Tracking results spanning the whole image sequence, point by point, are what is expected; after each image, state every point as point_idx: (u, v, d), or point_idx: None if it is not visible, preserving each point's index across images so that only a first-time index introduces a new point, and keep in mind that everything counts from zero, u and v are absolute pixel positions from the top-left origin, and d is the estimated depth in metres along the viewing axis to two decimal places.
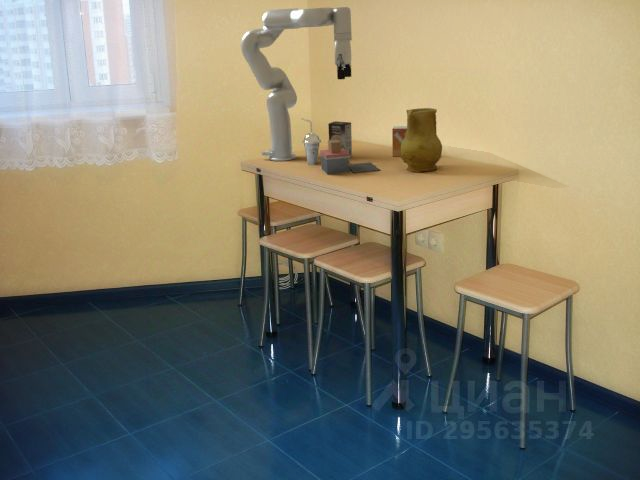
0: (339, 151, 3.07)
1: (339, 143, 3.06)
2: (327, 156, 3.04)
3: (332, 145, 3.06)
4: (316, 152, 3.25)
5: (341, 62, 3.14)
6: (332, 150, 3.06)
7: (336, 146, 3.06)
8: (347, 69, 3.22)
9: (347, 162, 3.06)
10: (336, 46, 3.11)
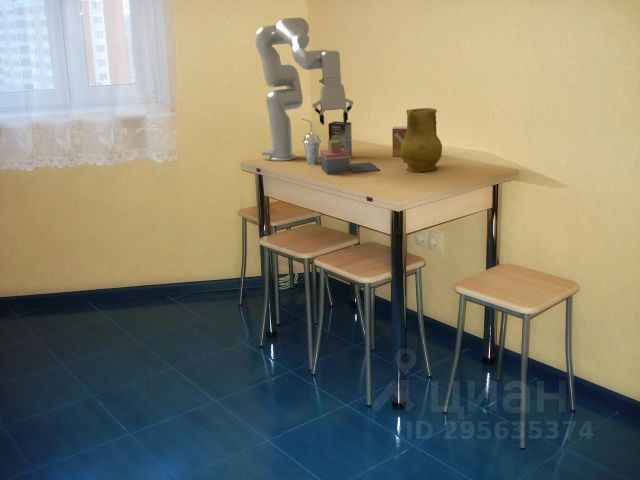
0: (339, 151, 3.07)
1: (339, 143, 3.06)
2: (327, 156, 3.04)
3: (332, 145, 3.06)
4: (316, 152, 3.25)
5: None
6: (332, 150, 3.06)
7: (336, 146, 3.06)
8: None
9: (347, 162, 3.06)
10: None
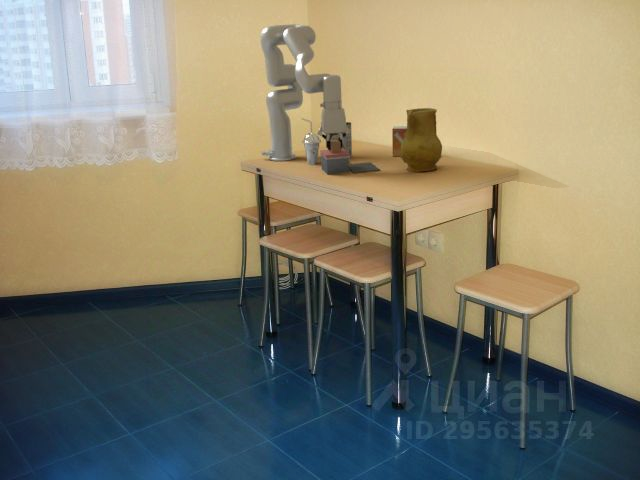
0: (339, 151, 3.07)
1: (339, 143, 3.06)
2: (327, 156, 3.04)
3: (332, 145, 3.06)
4: (316, 152, 3.25)
5: None
6: (332, 150, 3.06)
7: (336, 146, 3.06)
8: None
9: (347, 162, 3.06)
10: (344, 113, 3.04)
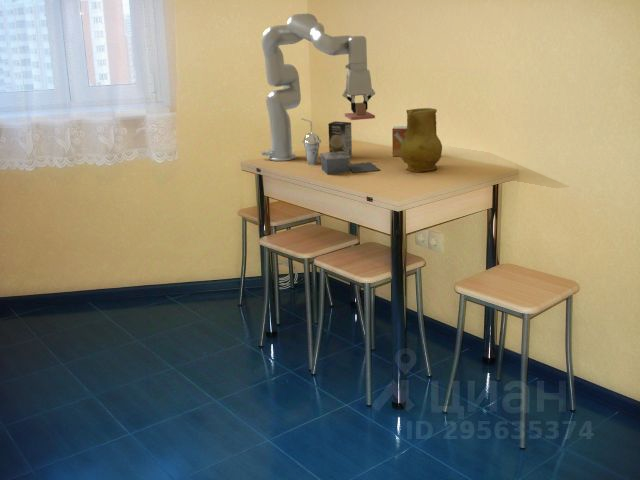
0: (364, 113, 3.05)
1: (364, 105, 3.04)
2: (352, 118, 3.01)
3: (357, 107, 3.03)
4: (316, 152, 3.25)
5: None
6: (357, 112, 3.04)
7: (361, 108, 3.04)
8: None
9: (347, 162, 3.06)
10: None
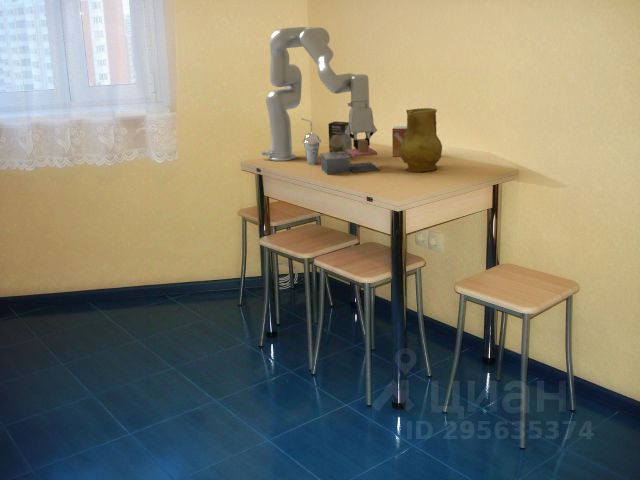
0: (366, 150, 3.09)
1: (366, 142, 3.08)
2: (355, 155, 3.06)
3: (360, 144, 3.08)
4: (316, 152, 3.25)
5: None
6: (359, 149, 3.09)
7: (363, 145, 3.08)
8: None
9: (347, 162, 3.06)
10: None
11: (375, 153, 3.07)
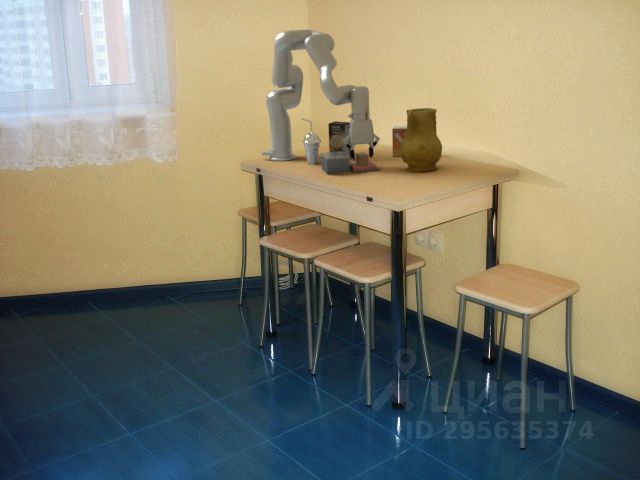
0: (366, 164, 3.11)
1: (366, 156, 3.10)
2: (355, 169, 3.08)
3: (360, 158, 3.10)
4: (316, 152, 3.25)
5: None
6: (359, 163, 3.11)
7: (363, 159, 3.10)
8: None
9: (347, 162, 3.06)
10: (372, 124, 3.08)
11: (375, 167, 3.09)
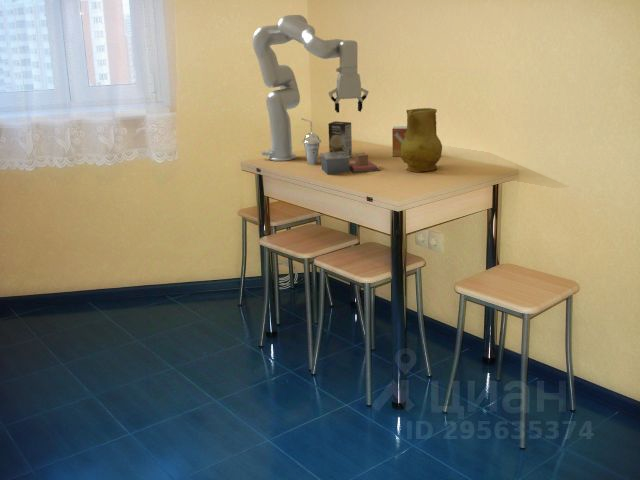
0: (366, 164, 3.11)
1: (366, 156, 3.10)
2: (355, 169, 3.08)
3: (360, 158, 3.10)
4: (316, 152, 3.25)
5: None
6: (359, 163, 3.11)
7: (363, 159, 3.10)
8: None
9: (347, 162, 3.06)
10: None
11: (375, 167, 3.09)
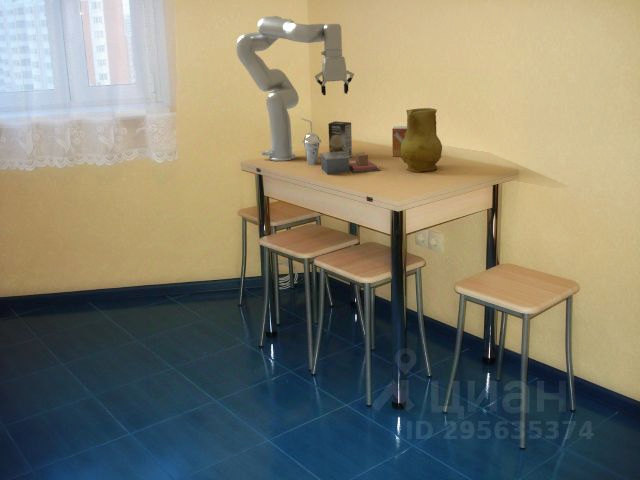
0: (366, 164, 3.11)
1: (366, 156, 3.10)
2: (355, 169, 3.08)
3: (360, 158, 3.10)
4: (316, 152, 3.25)
5: None
6: (359, 163, 3.11)
7: (363, 159, 3.10)
8: None
9: (347, 162, 3.06)
10: None
11: (375, 167, 3.09)
